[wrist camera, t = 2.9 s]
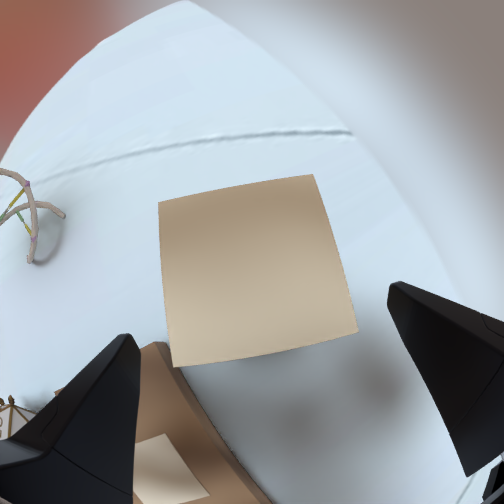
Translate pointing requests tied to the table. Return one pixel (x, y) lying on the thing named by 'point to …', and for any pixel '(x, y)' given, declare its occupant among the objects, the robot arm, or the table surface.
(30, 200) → the dna model
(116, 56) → the table surface
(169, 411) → the walnut slab
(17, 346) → the table surface
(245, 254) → the maple pillar
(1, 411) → the game die
